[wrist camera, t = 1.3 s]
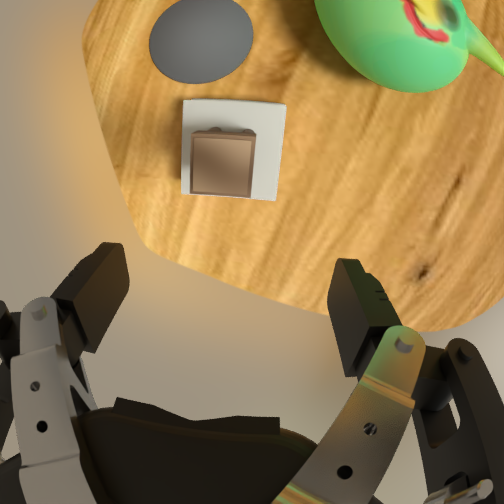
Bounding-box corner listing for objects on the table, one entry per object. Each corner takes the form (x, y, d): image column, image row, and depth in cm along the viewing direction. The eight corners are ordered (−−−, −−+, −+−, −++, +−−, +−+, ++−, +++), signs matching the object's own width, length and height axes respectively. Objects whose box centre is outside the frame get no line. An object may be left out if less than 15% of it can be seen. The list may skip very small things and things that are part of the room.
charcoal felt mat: (156, 0, 21) (155, -1, 21) (257, -4, 22) (257, -6, 21) (147, 86, 27) (145, 86, 27) (248, 85, 28) (248, 85, 27)
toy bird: (283, -26, 20) (296, -91, 7) (403, -31, 17) (461, -67, 4) (334, 102, 28) (387, 105, 15) (446, 86, 25) (525, 95, 12)
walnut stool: (207, 125, 25) (190, 133, 19) (257, 128, 26) (256, 137, 19) (205, 171, 28) (188, 194, 21) (252, 174, 28) (250, 199, 22)
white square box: (193, 98, 28) (181, 98, 24) (284, 104, 29) (288, 104, 24) (190, 182, 34) (179, 195, 29) (275, 188, 34) (277, 203, 29)
